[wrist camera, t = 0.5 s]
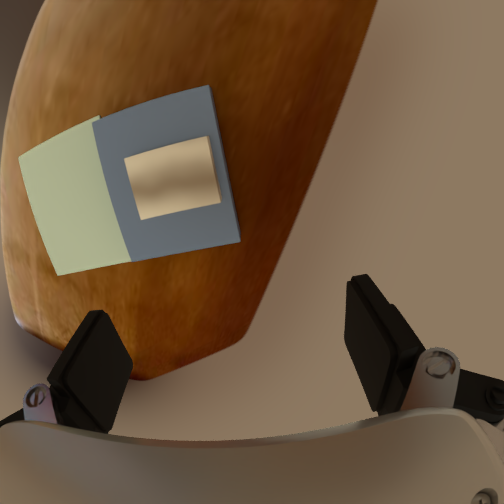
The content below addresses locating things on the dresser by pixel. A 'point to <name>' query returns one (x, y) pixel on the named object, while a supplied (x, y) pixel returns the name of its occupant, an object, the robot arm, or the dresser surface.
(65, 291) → the dresser surface
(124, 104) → the dresser surface
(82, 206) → the mat
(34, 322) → the dresser surface
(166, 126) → the slate blue tile
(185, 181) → the birch block
